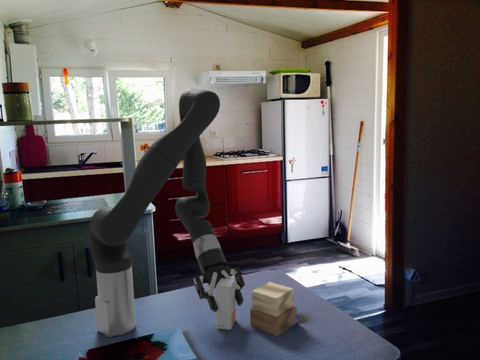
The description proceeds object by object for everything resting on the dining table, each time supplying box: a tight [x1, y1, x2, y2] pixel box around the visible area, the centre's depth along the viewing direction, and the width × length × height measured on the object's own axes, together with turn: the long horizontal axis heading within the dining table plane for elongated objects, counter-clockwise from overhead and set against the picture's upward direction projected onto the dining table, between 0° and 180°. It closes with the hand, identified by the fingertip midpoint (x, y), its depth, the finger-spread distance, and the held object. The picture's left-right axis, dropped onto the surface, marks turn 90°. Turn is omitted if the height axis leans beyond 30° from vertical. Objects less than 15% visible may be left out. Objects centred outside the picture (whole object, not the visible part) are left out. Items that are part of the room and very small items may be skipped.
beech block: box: [251, 281, 295, 317], centre depth 112 cm, size 8×8×5 cm
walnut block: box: [249, 305, 298, 337], centre depth 113 cm, size 9×9×5 cm
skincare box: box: [215, 278, 237, 331], centre depth 113 cm, size 6×4×12 cm
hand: (228, 307), depth 111 cm, fingers closed on skincare box, 7 cm apart
